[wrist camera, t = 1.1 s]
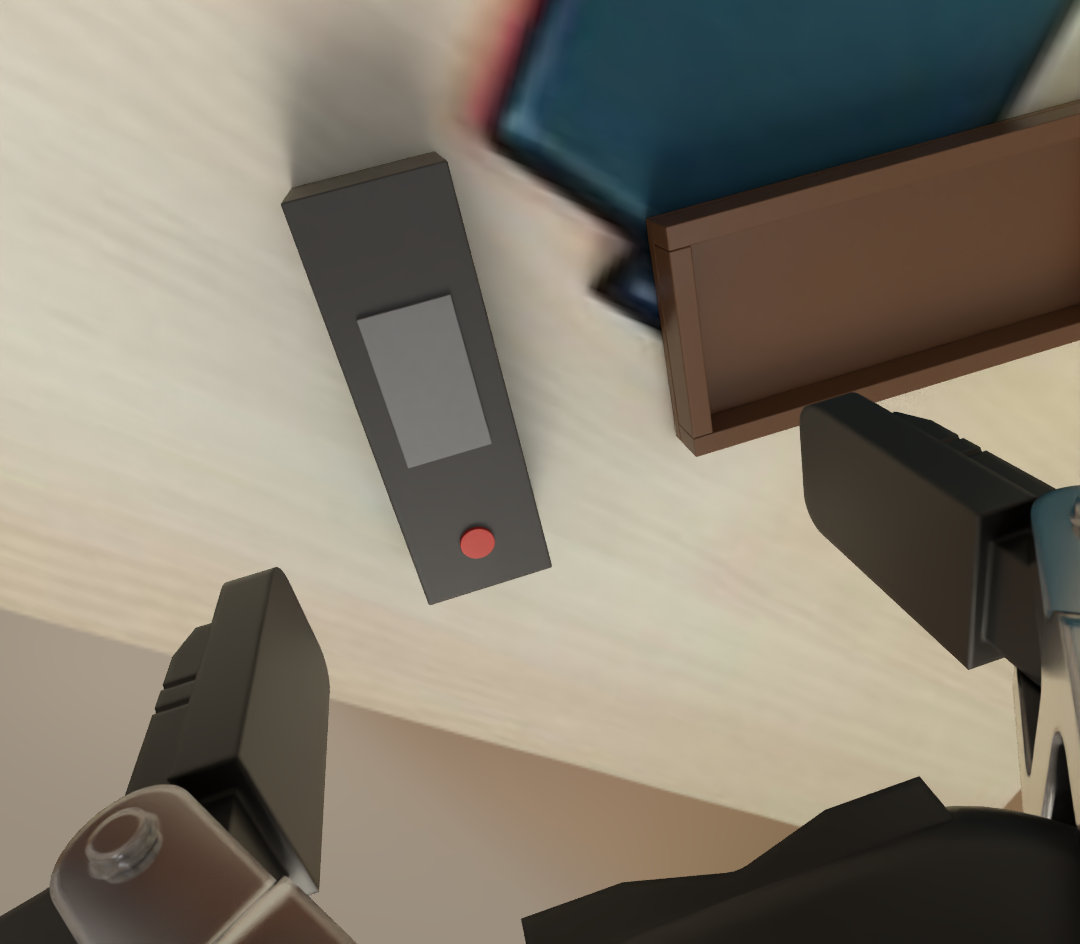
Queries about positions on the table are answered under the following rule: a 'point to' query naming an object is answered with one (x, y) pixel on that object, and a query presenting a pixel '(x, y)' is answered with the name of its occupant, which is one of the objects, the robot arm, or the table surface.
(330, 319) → the remote
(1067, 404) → the table surface
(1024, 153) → the tray
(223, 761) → the robot arm
